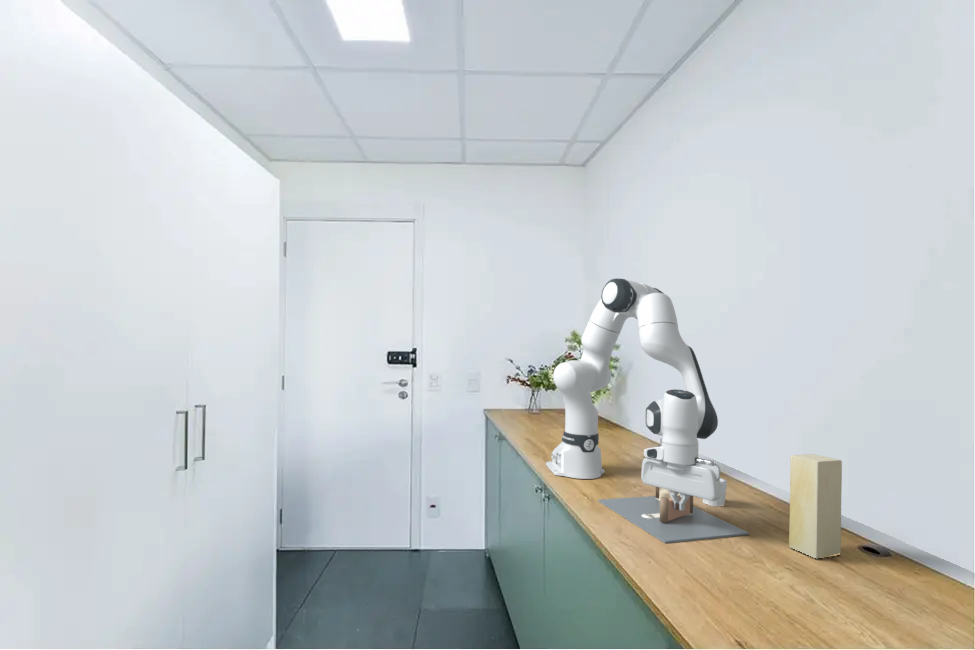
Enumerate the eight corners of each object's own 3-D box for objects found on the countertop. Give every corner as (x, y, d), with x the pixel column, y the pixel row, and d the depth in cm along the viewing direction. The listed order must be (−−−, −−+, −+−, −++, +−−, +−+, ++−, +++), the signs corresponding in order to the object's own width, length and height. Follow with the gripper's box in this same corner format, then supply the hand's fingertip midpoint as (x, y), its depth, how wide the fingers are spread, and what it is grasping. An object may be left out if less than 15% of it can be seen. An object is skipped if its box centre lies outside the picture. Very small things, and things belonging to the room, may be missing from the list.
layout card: (597, 501, 143) (598, 499, 143) (669, 496, 150) (669, 494, 150) (664, 543, 114) (665, 540, 114) (749, 534, 121) (749, 532, 121)
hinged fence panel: (687, 510, 135) (688, 489, 135) (694, 512, 134) (695, 490, 134) (658, 520, 126) (658, 497, 126) (665, 523, 125) (665, 500, 125)
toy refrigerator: (809, 542, 118) (811, 452, 118) (841, 555, 111) (843, 460, 111) (785, 546, 115) (787, 454, 115) (816, 560, 108) (818, 462, 108)
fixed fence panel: (654, 497, 147) (654, 476, 147) (659, 496, 148) (660, 476, 148) (683, 511, 135) (684, 489, 135) (689, 511, 135) (690, 489, 136)
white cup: (699, 504, 143) (700, 479, 144) (701, 498, 149) (702, 474, 150) (726, 509, 140) (726, 483, 140) (727, 502, 146) (727, 478, 146)
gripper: (726, 460, 122) (726, 518, 121) (651, 446, 137) (651, 498, 137) (713, 463, 118) (713, 523, 117) (638, 449, 133) (637, 501, 133)
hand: (679, 509), depth 127 cm, fingers closed
